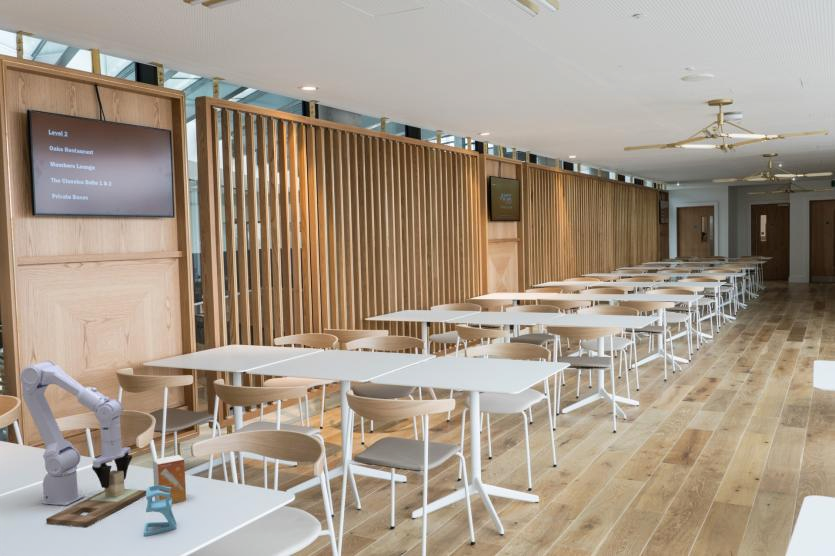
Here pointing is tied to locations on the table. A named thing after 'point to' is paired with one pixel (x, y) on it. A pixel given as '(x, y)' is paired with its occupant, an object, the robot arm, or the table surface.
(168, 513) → the chair
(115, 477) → the maple block
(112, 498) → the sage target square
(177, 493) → the small box
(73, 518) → the walnut pocket board
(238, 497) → the table surface
